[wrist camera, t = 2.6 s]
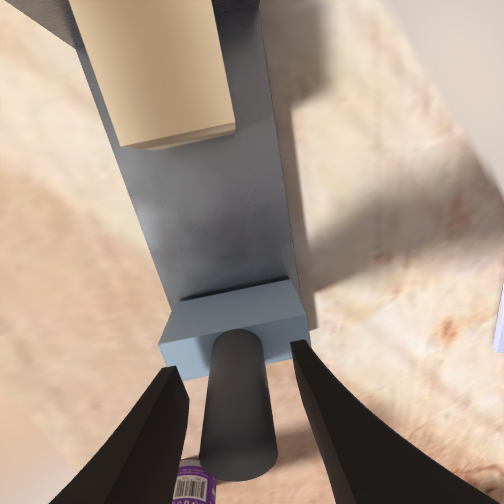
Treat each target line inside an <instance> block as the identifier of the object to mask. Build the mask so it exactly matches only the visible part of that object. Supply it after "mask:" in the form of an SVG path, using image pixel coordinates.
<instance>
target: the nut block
mask: <svg viewBox="0 0 504 504" xmlns="http://www.w3.org/2000/svg"><path fill="white" fill-rule="evenodd" d="M69 3H70V5H71V8H72V11H73V14H74V17H75V20H76V22H77V25H78V28H79V31H80V34H81V36H82V39H83V42H84V45H85V48H86V51H87V53H88V56H89V59H90V62H91V65H92V67H93V70H94V73H95V76H96V79H97V81H98V84H99V87H100V90H101V93H102V96H103V98H104V101H105V104H106V107H107V110H108V112H109V115H110V118H111V121H112V124H113V126H114V129H115V132H116V135H117V138H118V141H119V143H120V146H121V147H129V148H138V149H147V150H160V149H165V148H170V147H174V146H179V145H184V144H188V143H193V142H198V141H202V140H207V139H212V138H216V137H221V136H226V135H231V134H235V118H234V113H233V108H232V103H231V98H230V93H229V88H228V83H227V78H226V73H225V68H224V63H223V57H222V52H221V47H220V42H219V37H218V32H217V27H216V22H215V17H214V12H213V7H212V2H211V0H69Z"/></svg>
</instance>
